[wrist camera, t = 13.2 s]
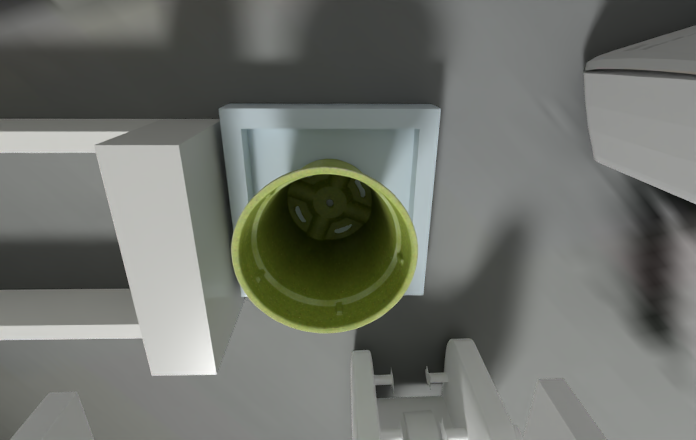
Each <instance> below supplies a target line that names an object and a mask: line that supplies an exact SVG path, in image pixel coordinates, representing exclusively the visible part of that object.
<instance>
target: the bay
mask: <svg viewBox="0 0 696 440" xmlns="http://www.w3.org/2000/svg"><path fill="white" fill-rule="evenodd" d="M0 153H96V155H97V159H98V163H99V167H100V171H101V175H102V179H103V183H104V187H105V191H106V195H107V199H108V203H109V207H110V211H111V215H112V219H113V223H114V227H115V231H116V235H117V239H118V243H119V247H120V251H121V255H122V259H123V263H124V267H125V271H126V275H127V279H128V283H129V287H130V289H34V290H0V340H45V339H125V338H143V342H144V346H145V350H146V354H147V358H148V362H149V366H150V370H151V374H152V376H157V375H217V372H218V370H219V367H220V364H221V362H222V359H223V356H224V354H225V351H226V348H227V346H228V343H229V340H230V338H231V335H232V332H233V330H234V327H235V324H236V322H237V319H238V316H239V314H240V311H241V308H242V306H243V303H244V297H241V290H240V284H239V282H238V280H237V277H236V275H235V272H234V268H233V264H232V256H231V244H232V237H233V224H232V216H231V208H230V200H229V191H228V183H227V175H226V167H225V158H224V150H223V142H222V134H221V125H220V119H0Z"/></svg>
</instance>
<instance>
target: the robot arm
mask: <svg viewBox="0 0 696 440" xmlns="http://www.w3.org/2000/svg"><path fill="white" fill-rule="evenodd" d="M10 440H94V438H93V435H92V432H91V429H90V426H89V423H88V421H87V418H86V415H85V412H84V409H83V406H82V404H81V401H80V398H79V395H78V392H51V393H48V395H47V396H46V397H45V398H44V399H43V401H42V402H41V403H40V404H39V405H38V407H37V408H36V409H35V410H34V411H33V413H32V414H31V415H30V416H29V417H28V419H27V420H26V421H25V422H24V423H23V425H22V426H21V427H20V428H19V429H18V431H17V432H16V433H15V434H14V435H13V437H12V438H11V439H10ZM522 440H607V439H606V437H605V436H604V434H603V433H602V432H601V430H600V429H599V427H598V426H597V425H596V423H595V422H594V420H593V419H592V418H591V416H590V415H589V413H588V412H587V411H586V409H585V408H584V406H583V405H582V404H581V402H580V401H579V399H578V398H577V397H576V395H575V394H574V392H573V391H572V390H571V388H570V387H569V386H568V384H567V383H566V381H565V380H564V379H563V378H555V379H538V380H537V384H536V388H535V392H534V396H533V400H532V404H531V408H530V412H529V415H528V419H527V423H526V427H525V431H524V435H523V439H522Z"/></svg>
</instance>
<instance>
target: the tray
mask: <svg viewBox="0 0 696 440" xmlns="http://www.w3.org/2000/svg"><path fill="white" fill-rule="evenodd" d="M218 109H219V117H220V125H221V134H222V142H223V150H224V158H225V167H226V175H227V183H228V191H229V200H230V208H231V216H232V224H233V232H234V229H235V226H236V223H237V221H238V218H239V216H240V215H241V213H242V211H243V209H244V208H245V206H246V205H247V204H248V202H249V201H250V200H251V199H252V198H253V197H254V196H255V195H256V194H257V193H258V192H259V191H260V190H261V189H262V188H264V187H265V186H266V185H267V184H269V183H270V182H272V181H273V180H275V179H277V178H278V177H280V176H282V175H285V174H287V173H289V172H292V171H295V170H299V169H301V168H303V167H304V166H305V165H307V164H309V163H311V162H314V161H316V160H321V159H338V160H341V161H344V162H347V163H349V164H351V165H353V166H355V167H356V168H358V169H359V170H360V171H361V172H362V173H363V174H365V175H368V176H370V177H371V178H373V179H375V180H377V181H378V182H380V183H381V184H383V185H384V186H385V187H386V188H388V189H389V190H390V191H391V192H392V193H393V194H394V195H395V196H396V197H397V198H398V199H399V201H400V202H401V203H402V205H403V206H404V207H405V209H406V210H407V212H408V214H409V216H410V218H411V220H412V223H413V225H414V228H415V232H416V236H417V242H418V259H417V265H416V270H415V273H414V276H413V279H412V281H411V283H410V286H409V287H408V289H407V291H406V292H405V294H404V295H423V292H424V282H425V271H426V261H427V250H428V240H429V229H430V219H431V208H432V198H433V187H434V177H435V166H436V155H437V145H438V134H439V124H440V113H441V109H440V108H438V107H437V106H435V105H433V104H265V103H229V104H227V105H225V106H223V107H221V108H218ZM312 176H313V175H312ZM312 176H307V177H308V178H310V177H312ZM355 184H356V185H357V187H358V189H359V191H360V195H361V197H364V196H365V190H364V188H363V187H362V186H361V184H360V181H359V180H355ZM326 204H327V205H328V206H332V205H333V201H332V200H327V201H326ZM295 211H296V214H297V215H298V217H299V219H300V220H301V221H302V222H306V220H305V219H304V218H303V215H302V214H301V211H300V208H299V206H297V207H296V209H295ZM351 225H352V224H350V225H349V226H348V225H347V226H345V227H342V228H339V229H335V233H342V232H344V231H346V230H348V229H349V228H350V227H351ZM240 290H241V297H248V296H247V295H246V294H245V292H244V291H243V289H242V287H241V286H240Z"/></svg>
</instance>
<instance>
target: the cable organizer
mask: <svg viewBox="0 0 696 440" xmlns="http://www.w3.org/2000/svg"><path fill="white" fill-rule="evenodd" d="M425 373H426V379H427V385H429V387H430V390H431V386H430V383H443V386H442V396H421V397H394V398H377V397H376V389H375V385H391V387H392V388H393V394H394V378H393V374H392V369H391V372H390V375H374V371H373V362H372V357H371V353H370V351H369V350H354V351H353V352H352V356H351V406H352V440H522V439H523V436H522V434H521V432H520V430H519V428H518V426H517V425H513V424H512V422H511V419H510V417H509V415H508V413H507V411H506V409H505V407H504V405H503V402H502V400H501V398H500V396H499V394H498V392H497V390H496V388H495V385H494V383H493V381H492V379H491V377H490V375H489V373H488V371H487V368H486V366H485V364H484V362H483V360H482V358H481V356H480V354H479V351H478V349H477V347H476V345H475V343H474V341H473V340H472V339H470V338H465V339H450V340H449V342H448V344H447V348H446V354H445V365H444V373H428V368H426V369H425Z"/></svg>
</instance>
